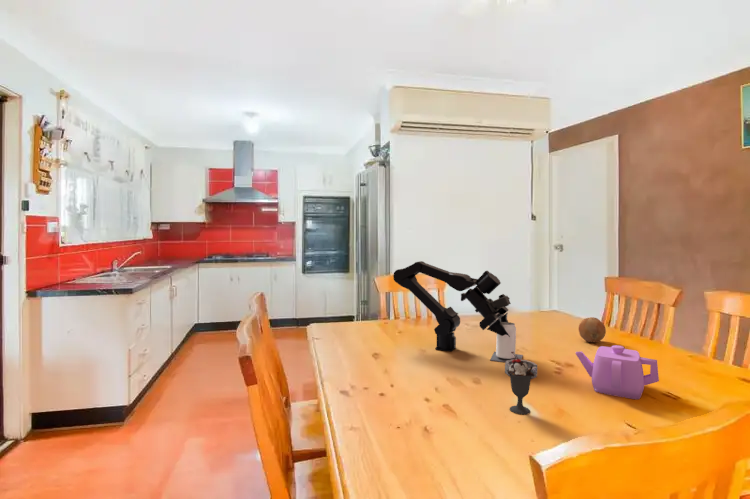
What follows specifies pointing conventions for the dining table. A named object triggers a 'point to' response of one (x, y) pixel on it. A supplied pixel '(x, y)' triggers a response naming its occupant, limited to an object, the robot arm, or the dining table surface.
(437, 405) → the dining table surface
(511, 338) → the can
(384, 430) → the dining table surface
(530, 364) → the holder
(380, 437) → the dining table surface
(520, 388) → the sundae
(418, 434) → the dining table surface
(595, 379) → the teakettle
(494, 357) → the mat
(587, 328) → the coconut
